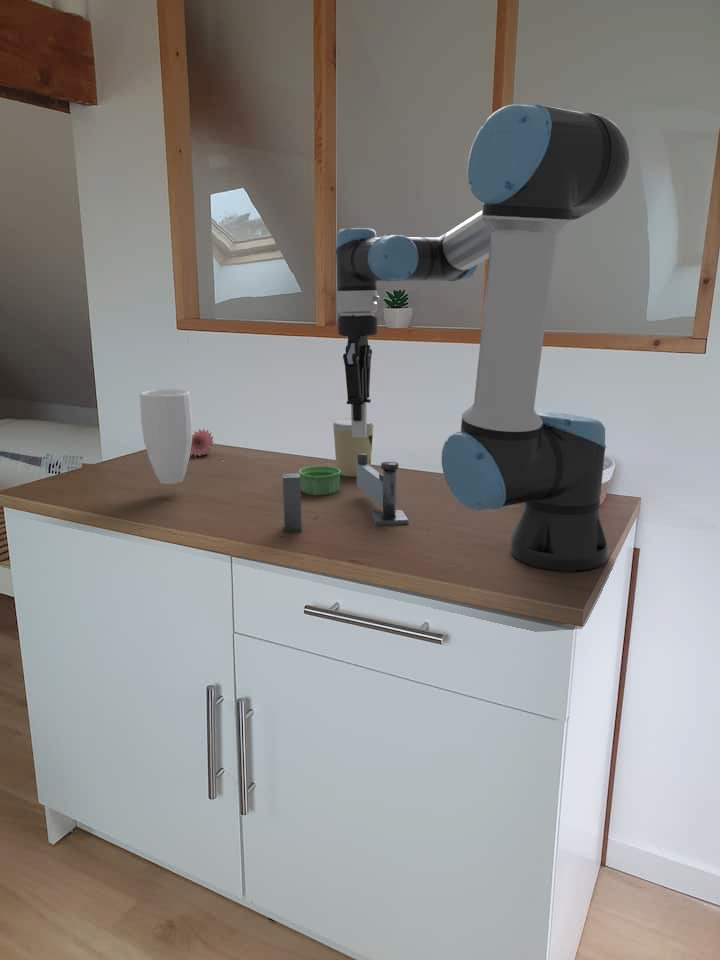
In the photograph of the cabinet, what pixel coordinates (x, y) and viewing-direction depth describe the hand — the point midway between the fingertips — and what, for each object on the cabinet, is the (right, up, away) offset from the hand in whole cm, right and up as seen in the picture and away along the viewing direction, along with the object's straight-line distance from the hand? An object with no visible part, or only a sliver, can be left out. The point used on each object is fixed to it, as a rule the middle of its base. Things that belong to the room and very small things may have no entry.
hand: (359, 436), depth 147 cm
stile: (-12, -17, -13) cm, 25 cm away
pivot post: (+6, -16, -8) cm, 19 cm away
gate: (+3, -12, 0) cm, 12 cm away
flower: (-40, -2, +44) cm, 59 cm away
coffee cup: (-1, -7, +26) cm, 27 cm away
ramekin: (-8, -11, +12) cm, 18 cm away
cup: (-39, -12, +9) cm, 42 cm away
